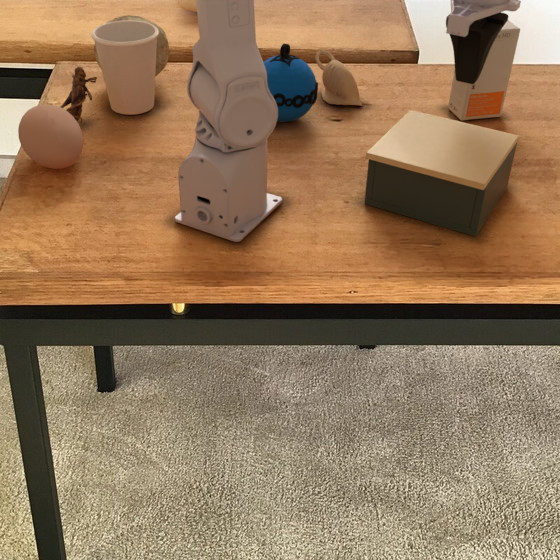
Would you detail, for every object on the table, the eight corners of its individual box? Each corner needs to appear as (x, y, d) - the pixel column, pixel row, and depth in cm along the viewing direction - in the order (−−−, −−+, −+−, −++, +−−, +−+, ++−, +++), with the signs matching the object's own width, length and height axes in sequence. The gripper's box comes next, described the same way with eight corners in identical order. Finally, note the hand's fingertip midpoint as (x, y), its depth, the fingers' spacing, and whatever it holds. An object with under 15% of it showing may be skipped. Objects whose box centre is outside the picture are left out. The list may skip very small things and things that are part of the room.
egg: (11, 151, 92) (39, 188, 85) (5, 97, 88) (34, 131, 81) (66, 142, 95) (97, 176, 89) (63, 89, 91) (95, 121, 85)
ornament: (270, 100, 105) (271, 27, 99) (327, 114, 102) (331, 40, 96) (238, 124, 99) (237, 48, 93) (297, 140, 96) (300, 62, 90)
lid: (483, 190, 75) (484, 184, 75) (365, 158, 80) (366, 152, 80) (517, 141, 84) (519, 135, 84) (409, 115, 89) (410, 109, 89)
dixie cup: (158, 120, 99) (152, 44, 93) (94, 117, 100) (83, 41, 94) (169, 93, 106) (163, 20, 100) (108, 91, 106) (99, 18, 100)
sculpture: (107, 93, 109) (83, 37, 100) (107, 75, 111) (83, 19, 102) (177, 79, 108) (159, 22, 100) (176, 62, 110) (158, 5, 102)
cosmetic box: (461, 122, 101) (477, 31, 94) (447, 108, 104) (461, 20, 97) (502, 117, 102) (521, 28, 95) (487, 104, 106) (504, 16, 98)
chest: (475, 237, 80) (486, 188, 76) (364, 204, 84) (368, 156, 81) (507, 187, 88) (517, 141, 84) (403, 160, 92) (409, 115, 89)
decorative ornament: (336, 111, 103) (338, 73, 100) (309, 87, 109) (311, 50, 106) (363, 107, 104) (366, 68, 101) (335, 83, 110) (337, 46, 107)
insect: (66, 133, 100) (44, 124, 95) (77, 68, 100) (56, 56, 95) (96, 137, 99) (76, 128, 94) (107, 71, 99) (88, 59, 94)
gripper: (508, -25, 71) (481, 112, 79) (546, -59, 81) (519, 66, 89) (435, -36, 74) (417, 97, 82) (481, -68, 84) (461, 54, 92)
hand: (466, 80), depth 86 cm, fingers closed
